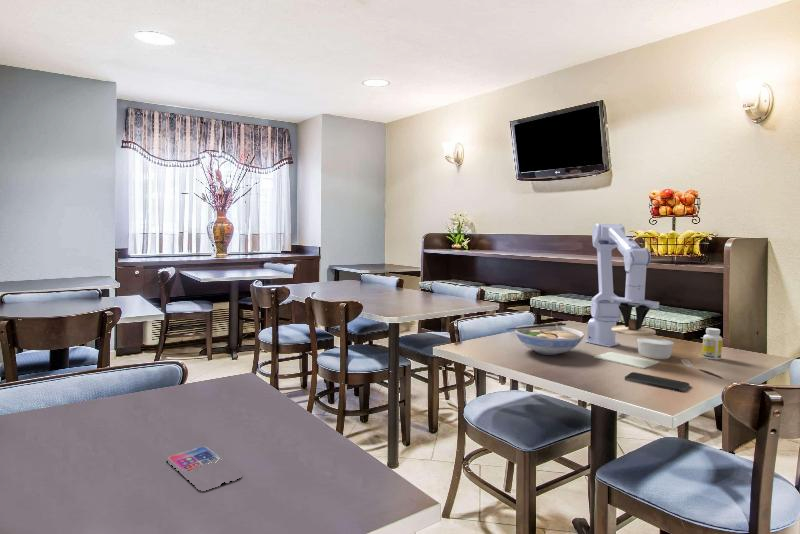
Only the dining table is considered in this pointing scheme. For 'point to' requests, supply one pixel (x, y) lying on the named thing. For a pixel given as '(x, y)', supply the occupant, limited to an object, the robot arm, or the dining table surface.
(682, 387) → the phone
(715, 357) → the supplement bottle
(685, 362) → the fork
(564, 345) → the ramen bowl
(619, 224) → the robot arm
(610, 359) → the mat
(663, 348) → the ramekin
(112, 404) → the dining table surface
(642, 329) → the lid
